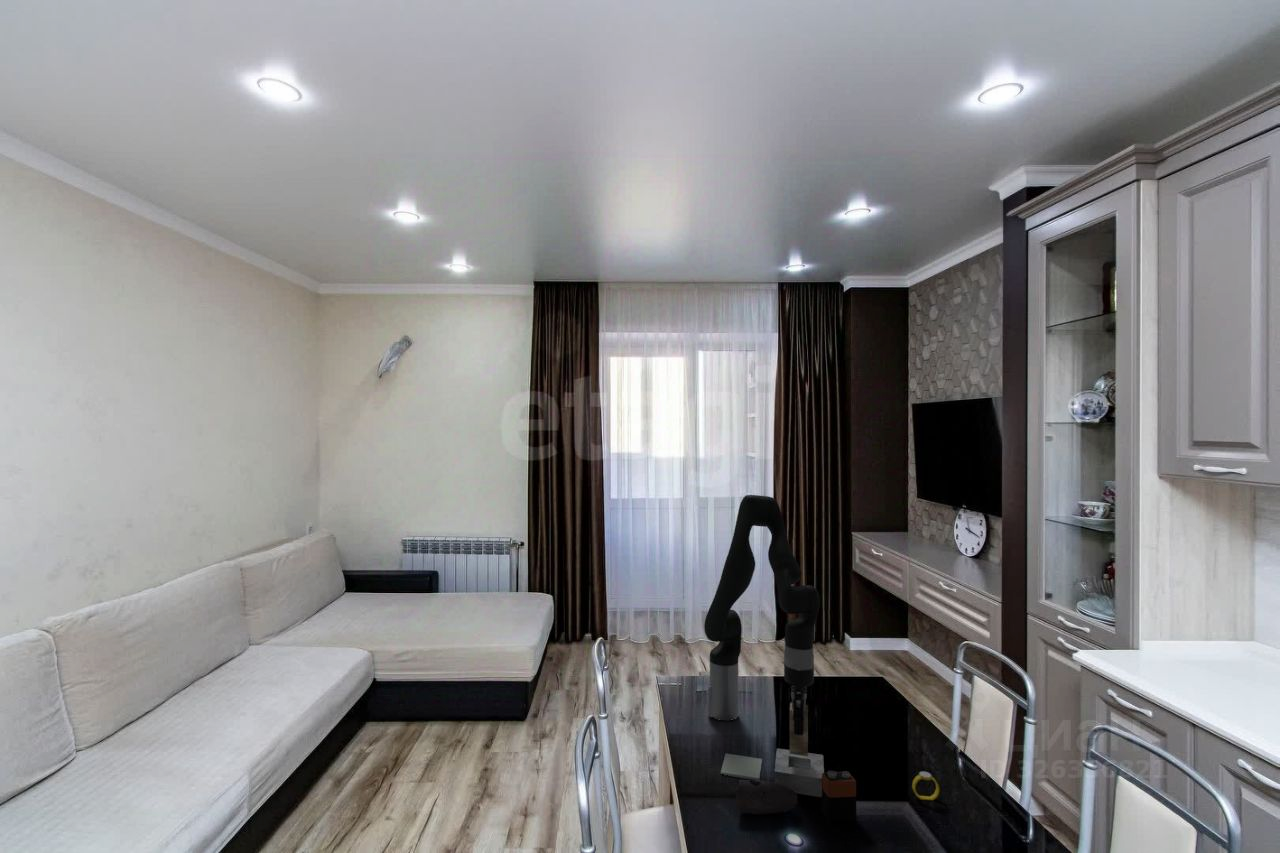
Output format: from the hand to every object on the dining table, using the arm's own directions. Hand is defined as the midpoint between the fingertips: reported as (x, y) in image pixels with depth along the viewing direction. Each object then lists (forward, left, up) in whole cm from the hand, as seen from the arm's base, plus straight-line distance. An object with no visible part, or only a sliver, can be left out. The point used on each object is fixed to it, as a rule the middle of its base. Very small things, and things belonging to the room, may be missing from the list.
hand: (798, 729), depth 152 cm
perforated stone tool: (-7, -16, -13) cm, 22 cm away
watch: (+30, +1, -13) cm, 33 cm away
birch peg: (0, 0, -5) cm, 5 cm away
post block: (0, 0, -13) cm, 13 cm away
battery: (+9, -13, -13) cm, 20 cm away
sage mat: (-15, +2, -13) cm, 20 cm away
